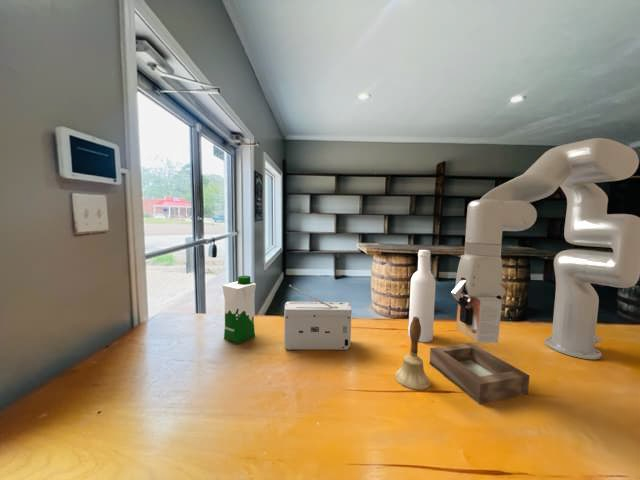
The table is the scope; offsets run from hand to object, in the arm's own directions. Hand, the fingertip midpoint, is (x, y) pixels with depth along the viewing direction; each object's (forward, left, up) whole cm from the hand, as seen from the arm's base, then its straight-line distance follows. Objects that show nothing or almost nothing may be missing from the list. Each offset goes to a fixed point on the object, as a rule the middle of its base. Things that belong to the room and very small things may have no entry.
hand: (476, 321), depth 63 cm
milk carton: (+59, -36, -15) cm, 70 cm away
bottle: (-1, -23, -15) cm, 27 cm away
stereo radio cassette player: (+35, -25, -15) cm, 45 cm away
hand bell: (+16, -3, -15) cm, 22 cm away
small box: (0, 0, -4) cm, 4 cm away
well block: (0, 0, -15) cm, 15 cm away
